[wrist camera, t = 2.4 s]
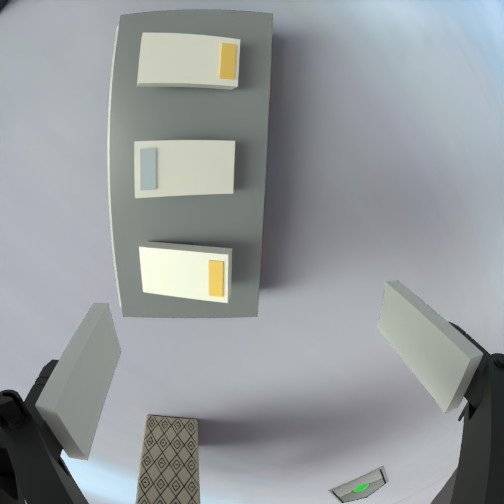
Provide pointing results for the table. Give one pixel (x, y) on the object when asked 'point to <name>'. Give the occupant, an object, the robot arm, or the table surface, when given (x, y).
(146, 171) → the rocker
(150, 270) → the rocker
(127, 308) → the switch unit
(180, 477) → the lamp
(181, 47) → the rocker
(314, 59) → the table surface
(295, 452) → the table surface
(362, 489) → the security device
